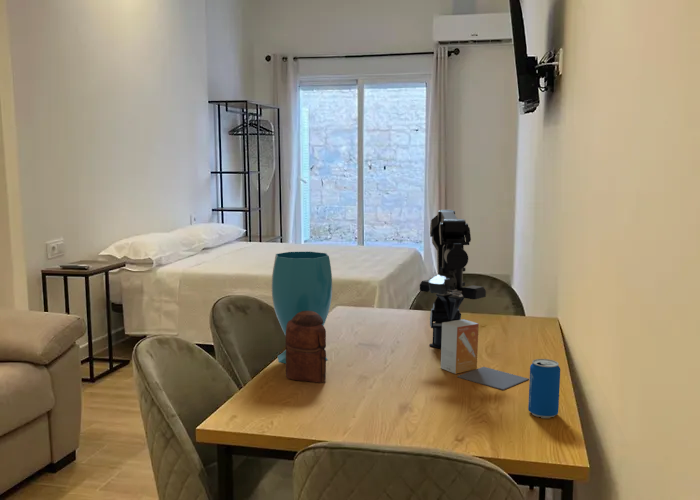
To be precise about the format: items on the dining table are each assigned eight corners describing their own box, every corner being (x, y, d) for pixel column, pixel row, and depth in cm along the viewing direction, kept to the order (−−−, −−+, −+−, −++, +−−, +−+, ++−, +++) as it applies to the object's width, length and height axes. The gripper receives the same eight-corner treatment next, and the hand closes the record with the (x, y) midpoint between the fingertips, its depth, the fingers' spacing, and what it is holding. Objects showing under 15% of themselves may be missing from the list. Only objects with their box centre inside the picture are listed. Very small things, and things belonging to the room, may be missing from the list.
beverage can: (524, 409, 150) (526, 358, 148) (551, 408, 150) (553, 358, 149) (534, 420, 144) (536, 367, 142) (562, 419, 144) (565, 366, 143)
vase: (336, 365, 182) (336, 258, 178) (273, 368, 179) (272, 259, 175) (327, 348, 199) (328, 250, 195) (270, 350, 196) (270, 251, 192)
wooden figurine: (332, 377, 172) (332, 310, 169) (323, 384, 166) (324, 315, 163) (290, 372, 175) (290, 306, 173) (280, 380, 169) (280, 311, 167)
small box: (455, 374, 175) (457, 327, 173) (439, 368, 180) (441, 322, 178) (477, 369, 179) (479, 323, 177) (461, 363, 184) (463, 318, 183)
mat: (457, 377, 173) (457, 375, 172) (483, 367, 181) (483, 366, 181) (503, 390, 163) (503, 389, 162) (528, 379, 171) (528, 378, 171)
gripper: (408, 263, 182) (407, 318, 184) (464, 270, 169) (463, 329, 171) (431, 259, 190) (430, 312, 192) (487, 266, 178) (485, 322, 179)
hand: (451, 319), depth 184 cm, fingers closed
